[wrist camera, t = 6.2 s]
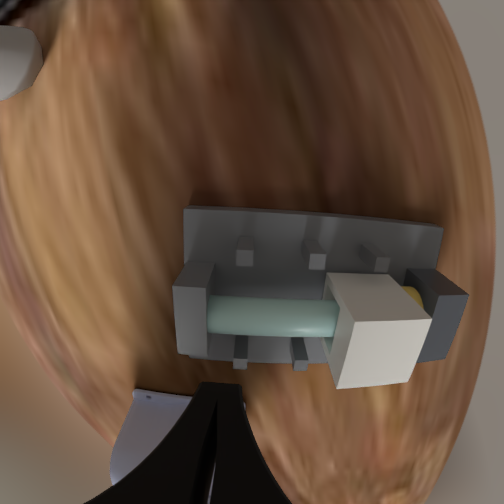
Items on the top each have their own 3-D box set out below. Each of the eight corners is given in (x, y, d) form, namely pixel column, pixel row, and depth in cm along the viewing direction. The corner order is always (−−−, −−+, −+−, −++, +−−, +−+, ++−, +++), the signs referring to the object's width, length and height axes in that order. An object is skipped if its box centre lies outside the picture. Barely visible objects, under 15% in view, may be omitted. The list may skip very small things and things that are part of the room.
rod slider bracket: (192, 347, 20) (177, 398, 15) (188, 205, 17) (161, 225, 12) (401, 349, 20) (429, 391, 15) (434, 224, 17) (481, 246, 12)
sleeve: (317, 329, 17) (336, 388, 12) (326, 272, 16) (354, 321, 11) (375, 328, 17) (407, 381, 12) (388, 274, 16) (432, 318, 11)
